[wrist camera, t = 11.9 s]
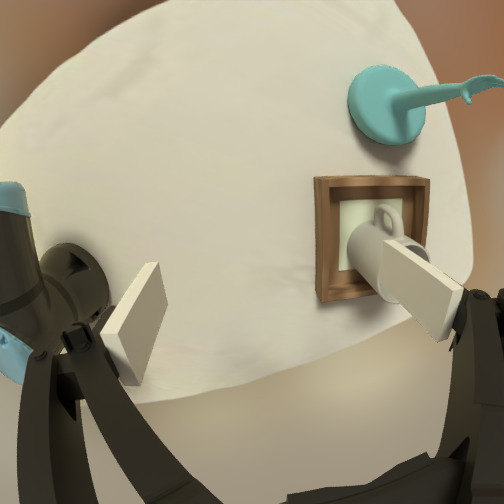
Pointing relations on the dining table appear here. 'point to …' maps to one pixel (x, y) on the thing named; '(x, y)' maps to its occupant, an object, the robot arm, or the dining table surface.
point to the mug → (379, 247)
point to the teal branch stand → (402, 102)
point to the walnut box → (355, 213)
